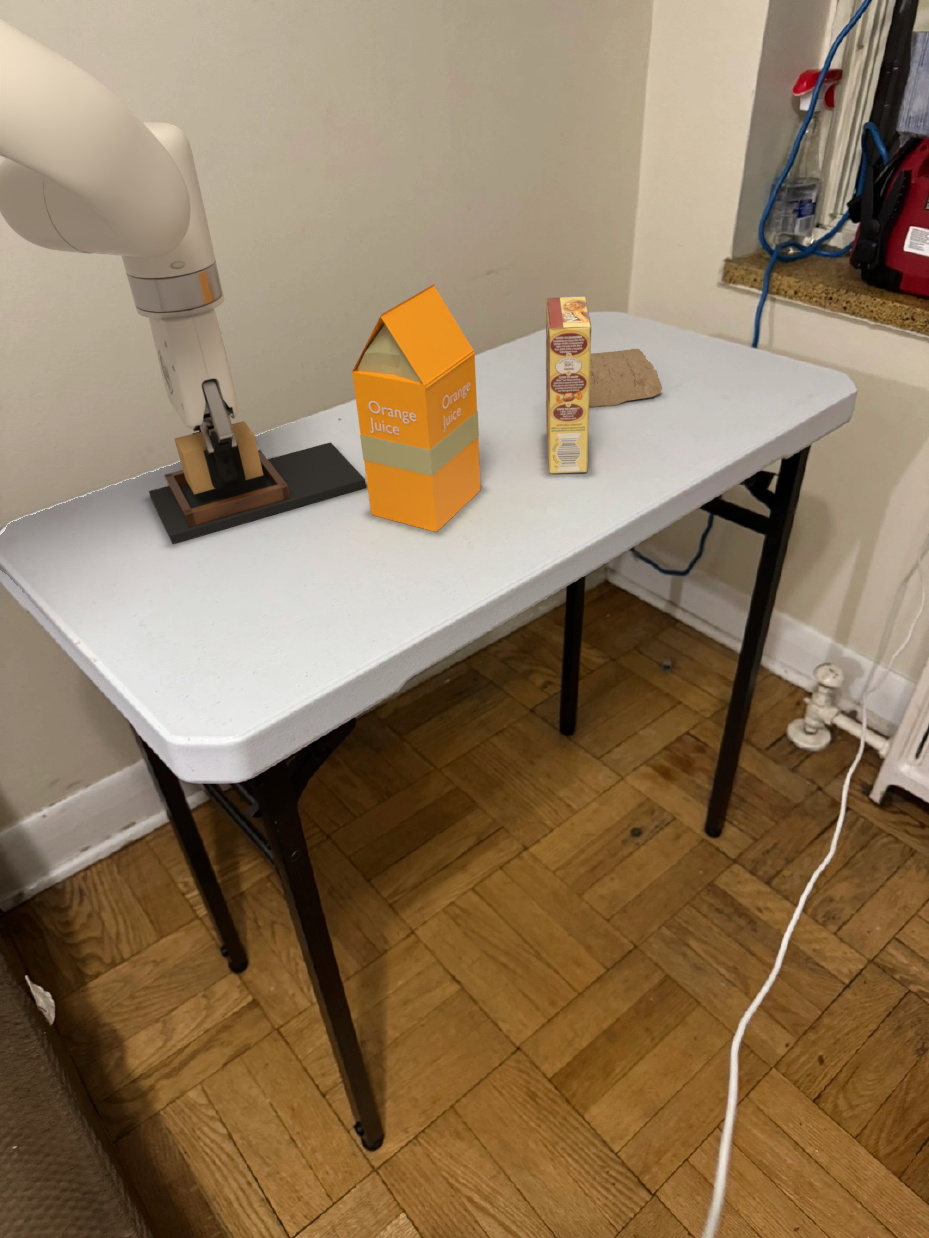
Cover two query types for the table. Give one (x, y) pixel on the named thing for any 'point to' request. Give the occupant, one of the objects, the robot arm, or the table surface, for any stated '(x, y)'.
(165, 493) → the back pad
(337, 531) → the table surface
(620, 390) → the clay tablet
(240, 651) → the table surface
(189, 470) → the brown block
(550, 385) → the candy box
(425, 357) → the orange juice
